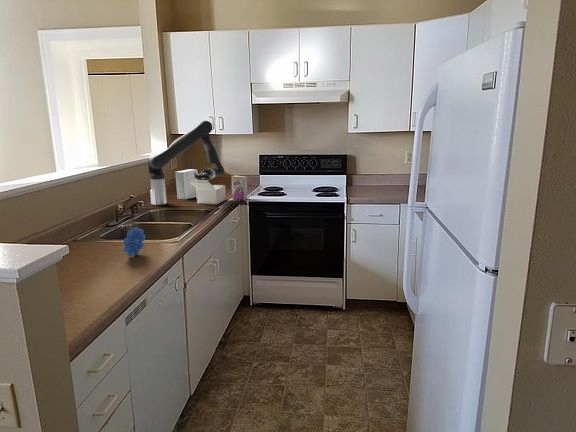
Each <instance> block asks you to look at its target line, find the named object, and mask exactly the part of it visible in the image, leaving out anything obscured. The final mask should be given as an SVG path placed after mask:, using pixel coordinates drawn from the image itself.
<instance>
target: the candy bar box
mask: <svg viewBox="0 0 576 432" xmlns="http://www.w3.org/2000/svg"><path fill="white" fill-rule="evenodd" d="M230 183H231V199H233V198H237V199H236V200H240V201H241V200H242V201H245V200H248V198H249V197H248V176H243V175H242V176H241V175H232V176H231V182H230Z"/></svg>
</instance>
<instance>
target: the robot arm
mask: <svg viewBox="0 0 576 432" xmlns="http://www.w3.org/2000/svg"><path fill="white" fill-rule="evenodd" d="M212 131H213V124H212V122H211V121H208V120H203V121H201V122H199V123H198V124H197V126H196V127H195V128H193V129H192V130H190V131H188V132H187V133H185V134H183V135H181V136H179V137H178V138H176V139H175V140H174V141H173V142H171V144H170V145H169V147H168V148H167V149H165V150H164V151H163V152H161V153H159V154H151V155H149V157H148V159H147V167H148V175H149V178H150V191H149V193H150V204H151V205H154V206H161V205H166V204H167V192H166V179H165V177H166V175H165V173H164V171H163V168H164V167H165V166H166V165H167V164H169V163H170V162H171V161H172V160H173V159H175V158H176V157H178V156H179V155H181V154H182V153H184V152H185V151H187V150H188V149H189V148H190V147H192V146H194V144H195V143H196V142H197V141H198V140H200V139H201V141H202V144H203V147H204V150H205V153H206V156H207V159H208V163H209V164H210V165H215V166H214V167H209V168H204V169H202V170H201V171H200V173H199V172H198V174H194V178H196V179H198V180H208V181H210V180H212V179H214V178H216V177H220V176H223V175H224V174H225V168H224V166H223V165H222V163H221V162H220V159H219V155H218V153H217V150H216V148H215V146H214V144H213V142H212V140H211V136H210V133H211V132H212Z"/></svg>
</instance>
